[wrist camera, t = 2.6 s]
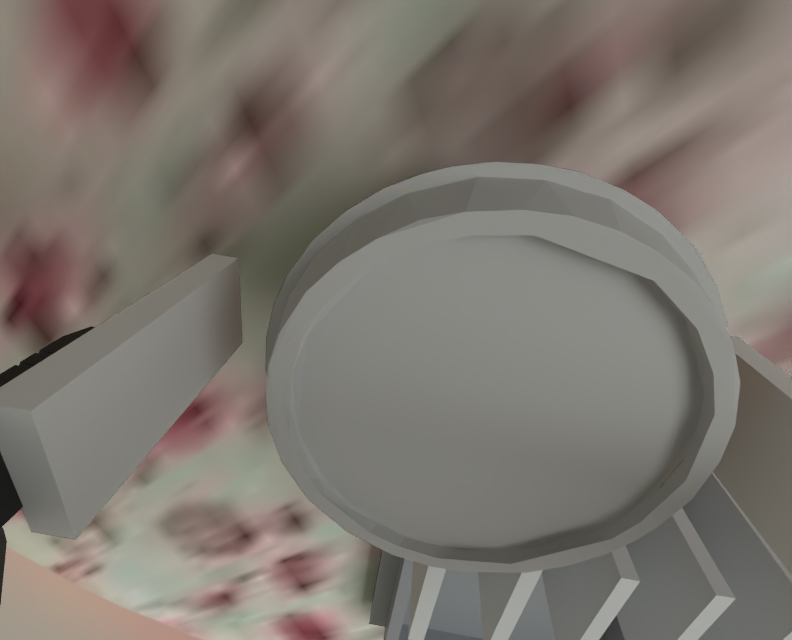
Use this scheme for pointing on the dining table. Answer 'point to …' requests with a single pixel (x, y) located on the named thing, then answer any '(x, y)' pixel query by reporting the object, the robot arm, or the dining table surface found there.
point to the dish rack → (607, 589)
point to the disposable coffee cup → (500, 369)
